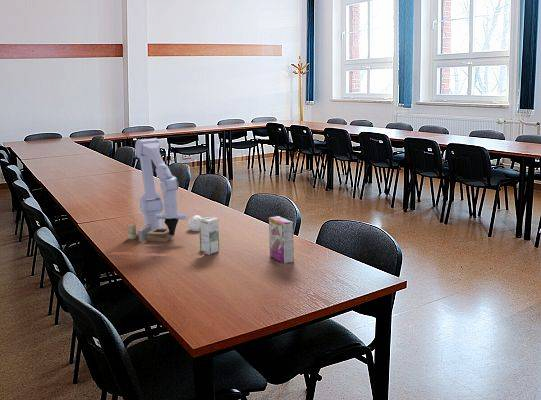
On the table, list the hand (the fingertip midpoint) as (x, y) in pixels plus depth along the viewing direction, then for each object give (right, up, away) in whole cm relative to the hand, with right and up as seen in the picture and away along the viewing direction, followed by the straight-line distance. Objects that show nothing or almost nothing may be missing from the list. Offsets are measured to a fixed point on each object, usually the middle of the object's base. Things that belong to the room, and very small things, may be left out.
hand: (172, 234), depth 247 cm
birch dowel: (-19, -3, +3) cm, 19 cm away
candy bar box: (+48, -8, -28) cm, 56 cm away
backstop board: (-4, -3, +1) cm, 5 cm away
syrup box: (+19, -6, -17) cm, 26 cm away
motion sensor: (+9, 0, +15) cm, 17 cm away
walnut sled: (-6, -2, +1) cm, 6 cm away
